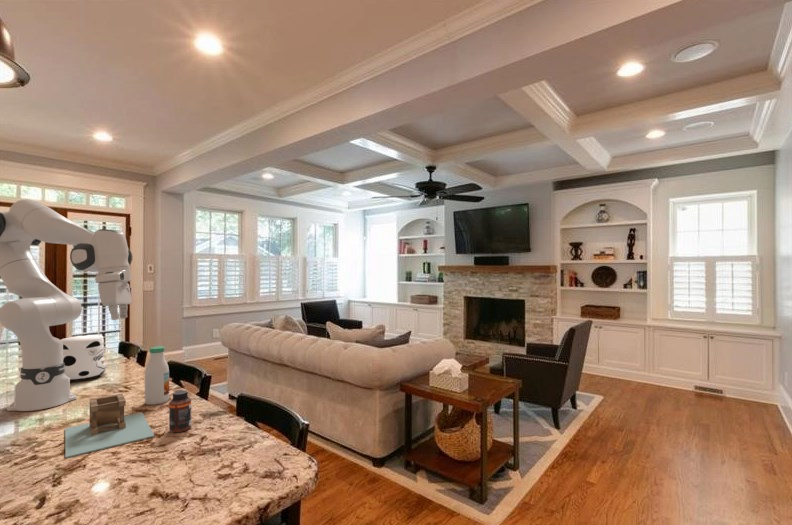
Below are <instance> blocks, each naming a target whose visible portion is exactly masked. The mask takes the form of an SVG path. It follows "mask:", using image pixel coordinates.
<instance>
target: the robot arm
mask: <svg viewBox="0 0 792 525" xmlns="http://www.w3.org/2000/svg"><path fill="white" fill-rule="evenodd" d="M42 242H43V243H48V244H56V245H57V244H58V245H59V244H60V245H69V246H73V248H72V249H71V251H70V254H69V258H70V262H71V265H72V266H73V267H74V268H75V269H76V270H78V271H79V272H80V271H82V272H97V274H96V275H95V277H94V281H95V284H97V288H98V289H97V290H98V293H99V298H100V303H101V304H102V306H104V307H108V311H109V314H110V319H111V320H112V321H117V320H119V319H127V318H128V307H129V306H128V305H131V304H132V302H133V300H132V294H131V286H130V284H129V283H128V282H132V274H131V273H132V270H131V263H132V262H133V253H132V251H131V249H130V248H129V247H128V241H127V238H126V235H125V233H124V232H123V231H121V230H117V229H106V228H105V229H104V228H102V229H97V230H95V232H94V231H92V230H91V229H88V228H86V227H84V226H83V225H80V224H78V223H76V222H75V221H72V220H70V219H69V218H67V217H65V216H63V215H62V214H60V213H58V212H57V211H56V210H53V209H52V208H51V207H49V206H47V205H45V204H43V203H41V202H39V201H37V200H36V201H35V200H32V199H26V198H25V199H21V200H17V201H15V202H14V203H12V204H11V206H10V208H9V211H0V279H1V280H2V281H3V284H4V286H5V287H6V289H7V291H9V292H10V293H11V294H13V295H16V296H19V297H21V298H19V299H18V298H17V299H16V300H12V301H8V302H6V303H4V304H3V305H2V306H1V307H0V324H1V326H2V327H4V328H5V329H6V330H9V331H10V332H11V333H13V334H14V335H15V337H16V338H17V340H18V341H19V344H20V347H21V361H22V362H21V363H22V366H21V368H20V381H19V382H17V383H16V384H15V385H14V388H13V389H14V397H13V399H14V400H13V402H12V403H11V404H10V405H9V406H7V407H6V411H8V412H10V411H12V412H13V411H18V412H30V411H32V412H33V411H39V410H44V409H49V408H54V407H57V406H61V405H63V404H66V403H68V402H70V401H75V400H76V399H77V395H76V394H74V393H73V392H72V391H71V383H70V382H71V381H70V378H69V377H68V376H66V375H65V374H64V372H65V363H64V362H63V343H62V341H61V339H60V338H57V337H55V336H53V335H52V333H51V331H50V327H53V326H59V325H64V324H68V323H70V322H73V321H75V320H77V319H78V318H79V317H80V316H81V314H82V309H83V308H82V303H81V302H80V300H79V299H78V298H76V297H74V296H72V295H69V294H67V293H66V292H64V291H63V290H62V289H60V288H59V287H57V286H56V285H55V284H54V283H52V282H51V281H50V280H49V278H48V277H47V276H46V274H45V272H44V270H42V268H41V266H40V264H39V263H38V261H37V259H36V258H35V256H34V255H33V252H32V251H31V245H34V246H38V245H40V244H41V243H42ZM118 307H119V311H118Z"/></svg>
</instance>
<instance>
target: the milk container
mask: <svg viewBox="0 0 792 525" xmlns="http://www.w3.org/2000/svg"><path fill="white" fill-rule="evenodd" d="M60 340H61V341H62V343H63V362H64V363H65V372H64V374H65V375H66V376H68V377H69V378H70V382H79V381H86V380H90V379H93V378H97V377H100V376H101V375H103V374H105V373H106V370H107V369H106V367H107V362H106V358H105V355H104V351H105V350H104V343H105V341H104V340H105V339H104V336H103V335H100V334H99V335H97V334H96V335H95V334H93V335H91V334H89V335H78V336H70V337H66V338H64V337H63V338H62V339H60Z"/></svg>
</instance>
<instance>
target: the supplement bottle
mask: <svg viewBox="0 0 792 525" xmlns="http://www.w3.org/2000/svg"><path fill="white" fill-rule="evenodd" d="M188 395H189V394H188V390H186V389H185V390H183V389H182V390H177V391H174V392H172V399H171V400H169V403H168V404H169V405H168V409H169V410H168V411H169V412H168V413H169V414H168V416H169V417H168V418H169V419H168V421H169V422H168V423H169V424H168V427H169V431H170V432H171V433H182V432H185V431H188V430H190V429H191V427H192V399H191V398H190V397H189V396H188Z"/></svg>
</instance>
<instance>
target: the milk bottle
mask: <svg viewBox="0 0 792 525" xmlns="http://www.w3.org/2000/svg"><path fill="white" fill-rule="evenodd" d="M164 353H165V346H154V347H150V348H149V355H150V357H149V360H148V363H147V365H146V366H145V371H144V404H146V405H149V406H150V405H151V406H156V405H160V404H164V403H167V402H168V401H170V369H169V368H170V367H169V364H168V363H167V361H166V358H165V354H164Z"/></svg>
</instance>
